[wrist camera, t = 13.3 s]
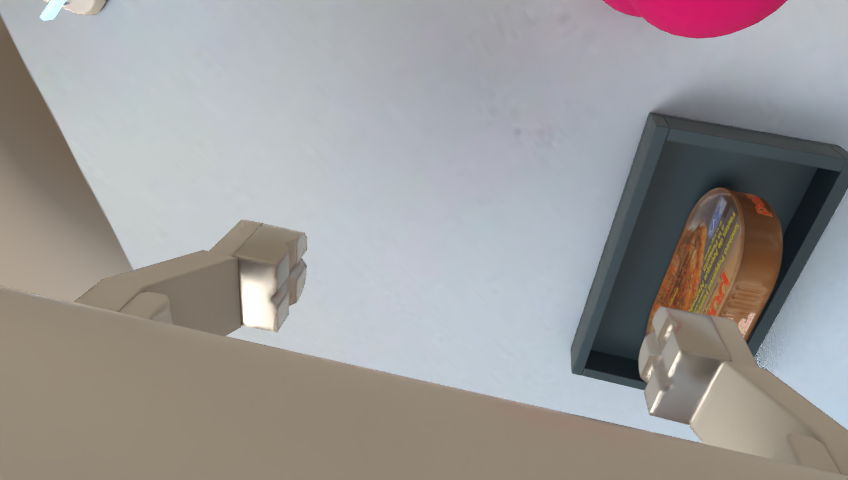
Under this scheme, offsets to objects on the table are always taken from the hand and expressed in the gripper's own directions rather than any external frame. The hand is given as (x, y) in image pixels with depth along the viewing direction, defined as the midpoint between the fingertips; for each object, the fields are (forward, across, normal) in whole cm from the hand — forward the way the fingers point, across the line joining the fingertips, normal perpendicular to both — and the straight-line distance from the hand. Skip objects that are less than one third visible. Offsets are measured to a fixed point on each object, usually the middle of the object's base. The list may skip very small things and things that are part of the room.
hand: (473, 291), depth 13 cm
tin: (+26, -16, +12) cm, 33 cm away
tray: (+26, -15, +12) cm, 33 cm away
